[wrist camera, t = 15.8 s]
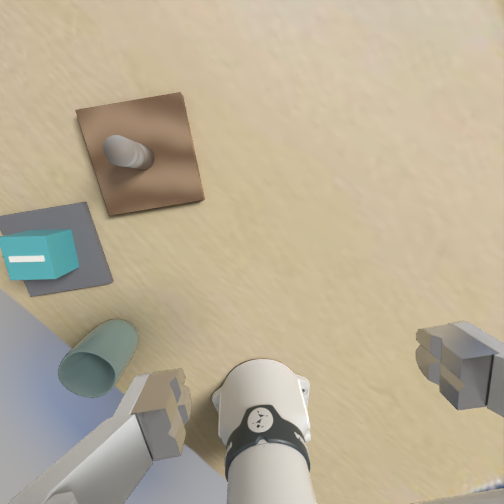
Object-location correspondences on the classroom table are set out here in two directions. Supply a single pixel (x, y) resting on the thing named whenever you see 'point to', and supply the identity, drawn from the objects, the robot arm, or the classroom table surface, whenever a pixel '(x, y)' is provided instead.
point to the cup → (99, 359)
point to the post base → (153, 133)
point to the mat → (85, 241)
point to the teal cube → (39, 254)
